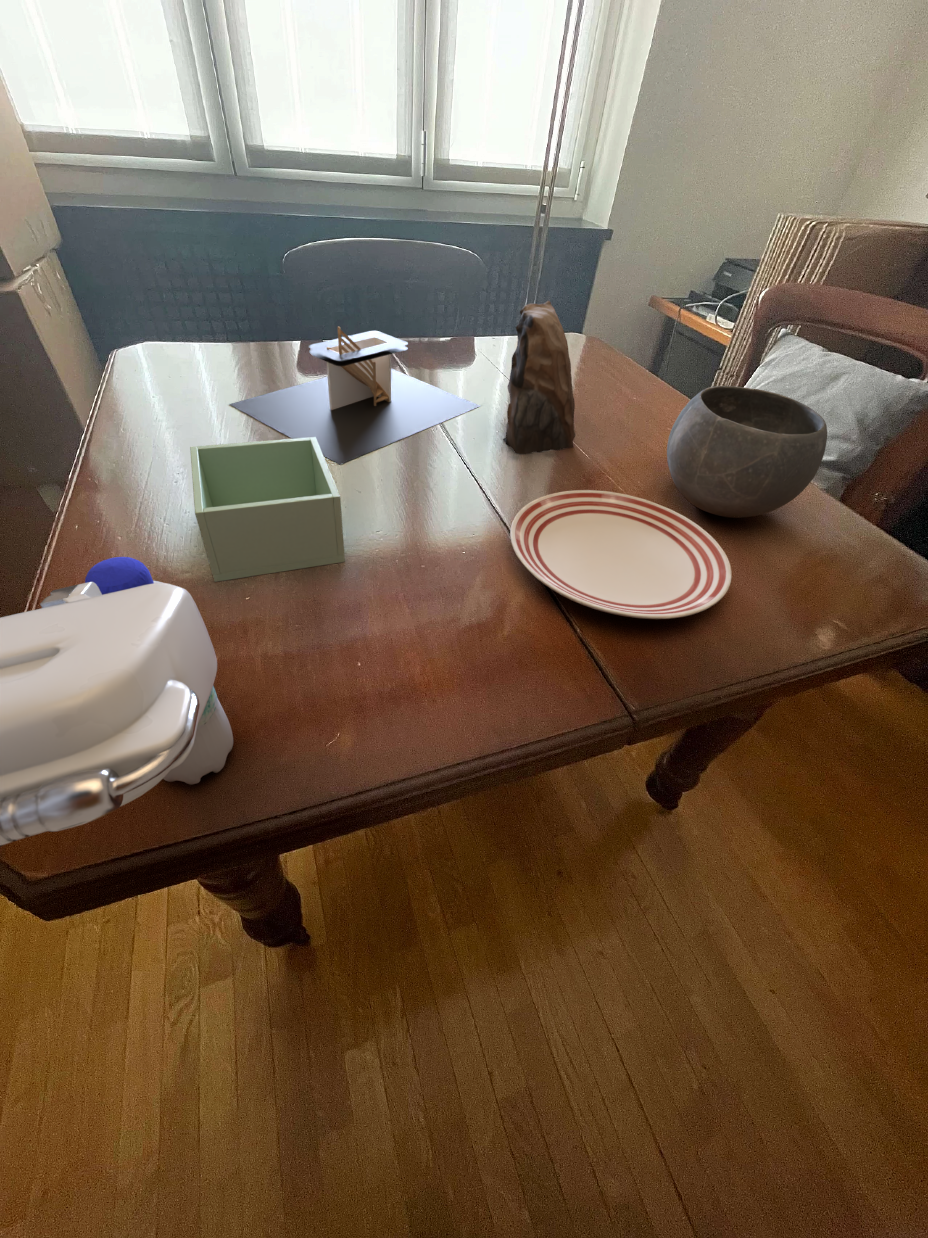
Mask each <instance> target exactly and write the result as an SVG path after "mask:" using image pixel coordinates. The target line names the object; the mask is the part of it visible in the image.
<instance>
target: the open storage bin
mask: <svg viewBox="0 0 928 1238" xmlns="http://www.w3.org/2000/svg"><path fill="white" fill-rule="evenodd" d="M189 449H190V451H189V452H190V464H191V465H190V467H191V477H192V489H193V490H192V493H193V505H194V516H195V518H196V522H197V526H198V529H199V533H200V536H201V539H202V543H203V546H204V550H205V554H206V557H207V560H208V562H209V568H210V571H211V573H212V578H213V581H214V582H215V583H216V582H224V581H230V580H236V579H237V580H238V579H242V578H248V577H255V576H262V575H267V574H275V573H283V572H288V571H294V570H300V569H301V570H302V569H307V568H313V567H321V566H327V565H333V564H340V563H345V562H346V555H345V544H344V543H345V541H344V527H343V516H342V515H343V514H342V501H341V500H342V499H341V495H340V492H339V490H338V488H337V485H336V482H335V481H334V478H333V476H332V472H331V471H330V469H329V465H328V463H327V461H326V457H325V456H323V454H322V451H321V449H320V446H319V444H318V442H317V439H316V437H310V438H309V437H307V438H295V439H292V438H283V439H272V440H257V441H246V442H245V441H244V442H233V443H221V444H209V445H197V446H190V447H189Z"/></svg>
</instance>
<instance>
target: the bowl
mask: <svg viewBox="0 0 928 1238" xmlns="http://www.w3.org/2000/svg"><path fill="white" fill-rule="evenodd" d="M827 426H828V425H827V422H826V420H825V419H824V418H823V417H822V416H821V414H819V412H817V411H816V410H815V409H813V408H811V407H810V406H808V405H806V404H804V403H802V402H800V401H799V400H796V399H794V398H792V397H789V396H786V395H783V394H781V393H776V392H772V391H769V390H763V389H759V388H750V387H743V386H732V385H715V386H709V387H707V388H704V389H702V390H701V391H700V392H698V393H697V394H696V395H694V396H693V397H692V398H691V399H690V400H689V401H688V402H687V403H686V405H685V406H684V407H683V408H682V410H681V411H680V412H679V414H678V416H677V418H676V419H675V421H674V423H673V425H672V427H671V429H670V432H669V436H668V440H667V446H666V460H667V466H668V470H669V473H670V476H671V479H672V481H673V483H674V486H675V488H676V489H677V491H678V492H679V493H680V494H681V495H682V497H684V499H685V500H686V501H688V502H689V503H691V504H692V505H693V506H694V507H696V508H698V509H699V510H701V511H703V512H707V513H709V514H712V515H715V516H720V517H724V518H736V519H737V518H739V519H740V518H750V517H755V516H756V517H757V516H761V515H765V514H769V513H771V512H774V511H775V510H778V509H779V508H782V507H784V506H786V505H787V504H788V503H791V502H792V501H793V500H794V499H796V498H797V497H798V496H800V494H802V493H803V492H804V491H805V489H806V488H807V487H808V486H809V484H810V483H811V482H812V480H814V478H815V476H816V475H817V473H818V470H819V469H820V466H821V464H822V462H823V459H824V455H825V452H826V448H827V441H828V427H827Z"/></svg>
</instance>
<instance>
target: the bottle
mask: <svg viewBox="0 0 928 1238" xmlns="http://www.w3.org/2000/svg"><path fill="white" fill-rule="evenodd" d="M88 582H94V583H95V584H96V585H97V586H98V588H99V590H100V592H101V594H102V595H104V594H108V593H113V592H117V591H122V590H126V589H130V588H135V587H139V586H143V585H147V584H153V583H164V582H162V581H158V580H153V577H152V575H151V572H150V570H149V568H147V566H146V565H145V564H144V563H143V562H142V561H140V560H138V559H136V558H133V557H129V556H116V557H111V558H107V559H103V560H101V561H99V562H97V563H96V564H94V565H93V566H92V567H90V569H89V570H88V572H87V574H86V576H85V578H84V583H88ZM217 694H218V693H217V692H216V688H215V686H214V685H213V687H212V690H211V693H210V696H209V699H208V701H207V704H206V706H205V709H204V711H203V714H202V716H201V718H200V720H199V723H198V725H197V730H196V735H195V740H194V745H193V747H192V749H191V752H190V753H189V755H188V756H187V758H186V759H185V760H184V761H183V763H181V764H180V765H179V766H177V767H175V768H174V769H171V770H170V771H169V773H168V774H167V775H166V776H165V777H164V778H163V779H162V780H164V781H165V782H169V783H172V782H175V781H179V782H183V783H185V784H188V785H195V784H199V783H200V782H201V778H202V777H203V776H206V775H208V774H209V773H211V772H213V773H216V774H217V773H219V772H220V771H221V770H222V769H223V768H224V767H225V765H226V761H227V757H228V755H229V753H230V752H231V751H232V750H233V746H234V735H233V730H232V726H231V724H230V721H229V718H228V716H227V714H226V711H225V710H224V708H223V705H222V704H221V702H220V700H219V698H218V695H217Z"/></svg>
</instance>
